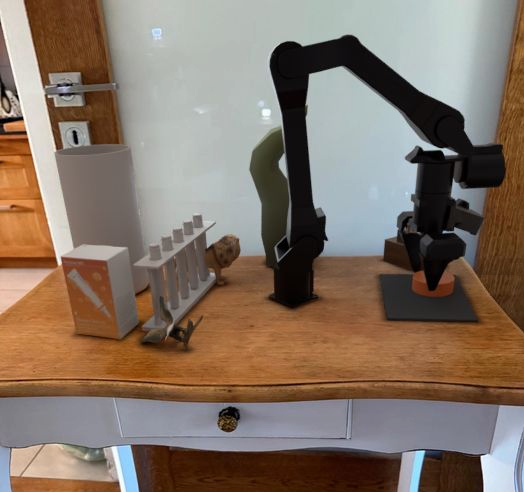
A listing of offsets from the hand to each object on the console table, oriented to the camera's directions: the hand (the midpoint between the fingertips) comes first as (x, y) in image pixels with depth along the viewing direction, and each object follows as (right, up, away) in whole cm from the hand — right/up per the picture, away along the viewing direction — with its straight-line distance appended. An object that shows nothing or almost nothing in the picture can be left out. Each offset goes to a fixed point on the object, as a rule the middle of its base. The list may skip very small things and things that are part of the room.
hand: (423, 280), depth 97 cm
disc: (-2, -1, 0) cm, 2 cm away
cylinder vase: (-56, -1, +8) cm, 57 cm away
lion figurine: (-39, +1, +10) cm, 40 cm away
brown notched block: (+2, +5, +14) cm, 15 cm away
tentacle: (-24, +6, +18) cm, 31 cm away
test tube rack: (-42, -4, +1) cm, 42 cm away
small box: (-53, -9, -8) cm, 54 cm away
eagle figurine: (-42, -11, -13) cm, 46 cm away
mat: (0, -3, -1) cm, 3 cm away
